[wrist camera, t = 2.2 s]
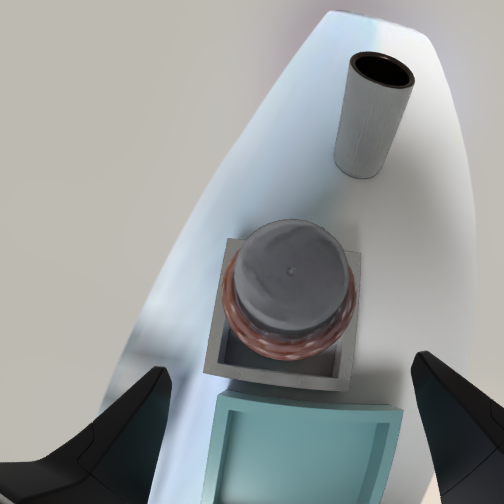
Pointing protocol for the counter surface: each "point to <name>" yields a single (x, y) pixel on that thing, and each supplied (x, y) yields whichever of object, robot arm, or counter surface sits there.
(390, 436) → the bin
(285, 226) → the supplement bottle
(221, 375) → the collar
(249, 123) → the counter surface
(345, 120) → the grey hollow cylinder
